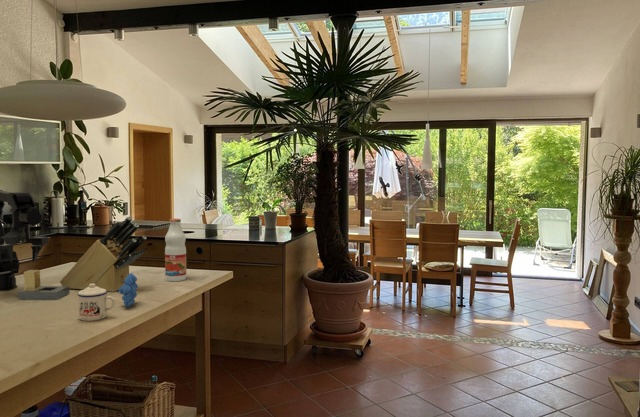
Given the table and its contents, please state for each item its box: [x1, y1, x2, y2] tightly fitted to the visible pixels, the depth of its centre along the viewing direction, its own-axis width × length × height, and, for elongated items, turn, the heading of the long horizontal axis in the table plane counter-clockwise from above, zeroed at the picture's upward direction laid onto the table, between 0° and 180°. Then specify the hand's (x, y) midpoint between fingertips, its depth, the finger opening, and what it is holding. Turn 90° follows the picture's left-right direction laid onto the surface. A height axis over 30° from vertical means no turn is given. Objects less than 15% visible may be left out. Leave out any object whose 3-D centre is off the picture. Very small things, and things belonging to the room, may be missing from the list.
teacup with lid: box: [77, 284, 116, 322], centre depth 174 cm, size 12×9×12 cm
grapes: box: [117, 272, 139, 308], centre depth 189 cm, size 12×7×12 cm, turn 3°
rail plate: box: [17, 285, 71, 301], centre depth 202 cm, size 15×10×3 cm, turn 91°
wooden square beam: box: [23, 269, 41, 290], centre depth 201 cm, size 4×4×7 cm
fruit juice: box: [164, 218, 187, 282], centre depth 233 cm, size 9×9×28 cm
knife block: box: [59, 215, 147, 293], centre depth 215 cm, size 11×35×31 cm, turn 78°
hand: (22, 262), depth 205 cm, fingers open, 9 cm apart
